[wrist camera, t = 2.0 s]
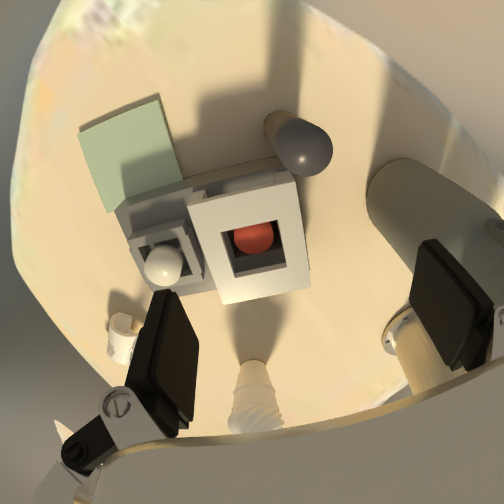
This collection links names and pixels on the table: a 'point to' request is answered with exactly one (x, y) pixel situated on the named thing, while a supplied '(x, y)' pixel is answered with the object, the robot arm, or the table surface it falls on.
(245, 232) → the breaker button
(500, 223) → the water bottle
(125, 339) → the plastic part
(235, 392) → the soft serve ice cream cone
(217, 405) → the table surface
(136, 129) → the mat
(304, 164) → the stylus
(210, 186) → the grey push-button box
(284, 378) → the table surface
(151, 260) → the on button
